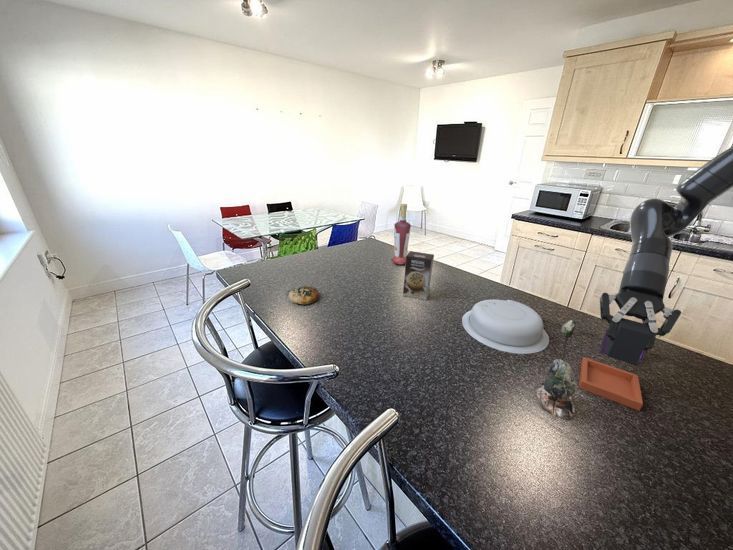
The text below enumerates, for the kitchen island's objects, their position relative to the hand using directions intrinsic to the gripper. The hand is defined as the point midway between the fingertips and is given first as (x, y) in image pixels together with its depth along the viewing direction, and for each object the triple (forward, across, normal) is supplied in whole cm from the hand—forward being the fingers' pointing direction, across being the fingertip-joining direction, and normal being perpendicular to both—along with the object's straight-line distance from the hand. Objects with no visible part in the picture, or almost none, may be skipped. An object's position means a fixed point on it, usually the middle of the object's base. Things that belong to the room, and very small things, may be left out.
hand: (628, 344), depth 64 cm
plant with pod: (+19, -10, 0) cm, 21 cm away
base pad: (+8, 0, +10) cm, 13 cm away
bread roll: (+19, -89, 0) cm, 91 cm away
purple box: (-4, +3, +23) cm, 23 cm away
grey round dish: (+1, -26, +18) cm, 31 cm away
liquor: (-18, -79, +37) cm, 89 cm away
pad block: (+2, 0, +4) cm, 5 cm away
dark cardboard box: (-1, -58, +20) cm, 61 cm away
